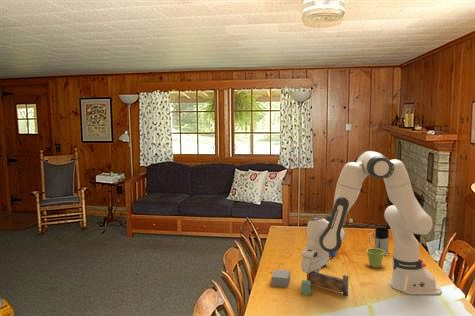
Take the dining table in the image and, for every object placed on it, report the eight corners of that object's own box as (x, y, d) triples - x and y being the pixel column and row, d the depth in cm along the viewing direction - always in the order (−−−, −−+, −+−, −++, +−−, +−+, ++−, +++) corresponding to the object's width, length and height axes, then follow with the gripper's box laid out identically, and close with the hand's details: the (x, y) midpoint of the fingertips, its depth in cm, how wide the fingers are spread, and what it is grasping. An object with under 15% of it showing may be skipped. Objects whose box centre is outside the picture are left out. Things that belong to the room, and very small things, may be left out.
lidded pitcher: (392, 254, 231) (392, 230, 230) (373, 257, 226) (374, 233, 225) (382, 250, 240) (382, 226, 238) (363, 253, 234) (364, 229, 233)
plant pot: (385, 269, 208) (386, 254, 207) (367, 268, 210) (367, 253, 209) (382, 263, 217) (383, 248, 216) (365, 262, 219) (365, 247, 218)
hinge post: (347, 293, 180) (348, 275, 179) (348, 296, 177) (348, 277, 176) (342, 293, 180) (342, 274, 179) (342, 295, 178) (343, 276, 177)
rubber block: (290, 280, 197) (290, 270, 196) (287, 288, 187) (287, 278, 187) (274, 278, 199) (274, 269, 198) (271, 286, 189) (271, 276, 189)
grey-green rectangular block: (310, 293, 181) (310, 280, 180) (310, 295, 179) (310, 282, 178) (301, 292, 182) (301, 280, 181) (301, 294, 180) (301, 282, 179)
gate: (343, 291, 180) (343, 279, 180) (341, 292, 179) (341, 280, 178) (308, 282, 191) (308, 270, 191) (306, 283, 190) (306, 271, 189)
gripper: (321, 243, 199) (321, 268, 201) (299, 253, 185) (299, 280, 186) (332, 245, 195) (332, 272, 196) (310, 256, 180) (310, 284, 182)
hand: (315, 276), depth 191 cm, fingers closed
